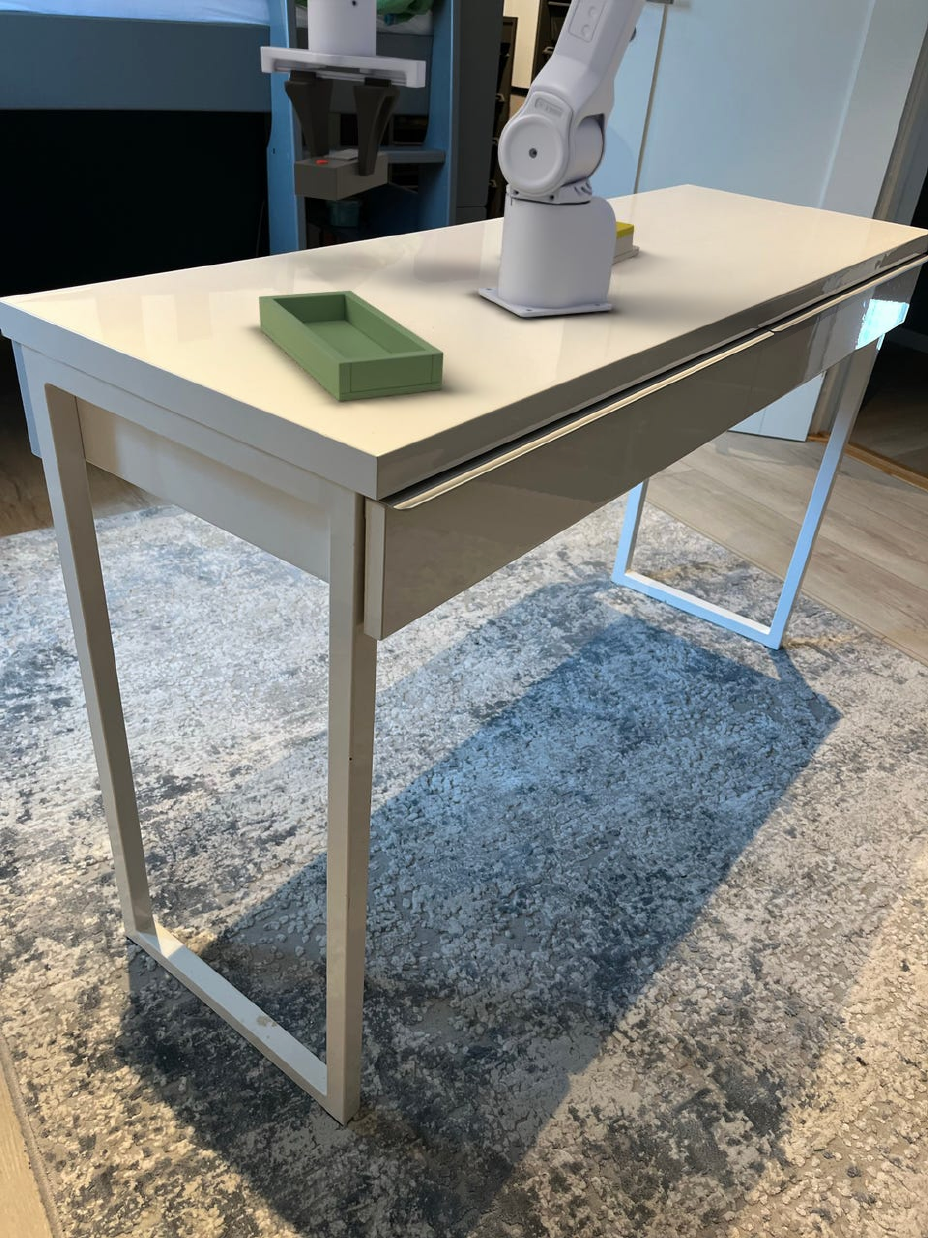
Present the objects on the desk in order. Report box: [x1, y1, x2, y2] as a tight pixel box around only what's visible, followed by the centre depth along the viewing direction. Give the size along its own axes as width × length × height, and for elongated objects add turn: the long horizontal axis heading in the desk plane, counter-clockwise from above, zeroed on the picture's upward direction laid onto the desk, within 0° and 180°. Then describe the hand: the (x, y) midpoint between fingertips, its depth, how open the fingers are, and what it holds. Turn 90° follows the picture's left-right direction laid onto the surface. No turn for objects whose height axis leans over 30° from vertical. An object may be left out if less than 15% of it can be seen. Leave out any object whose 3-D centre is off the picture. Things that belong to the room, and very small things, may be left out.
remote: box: [293, 148, 389, 201], centre depth 84 cm, size 12×4×3 cm, turn 162°
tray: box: [258, 290, 444, 402], centre depth 66 cm, size 7×16×2 cm, turn 28°
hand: (342, 171), depth 84 cm, fingers closed on remote, 4 cm apart
